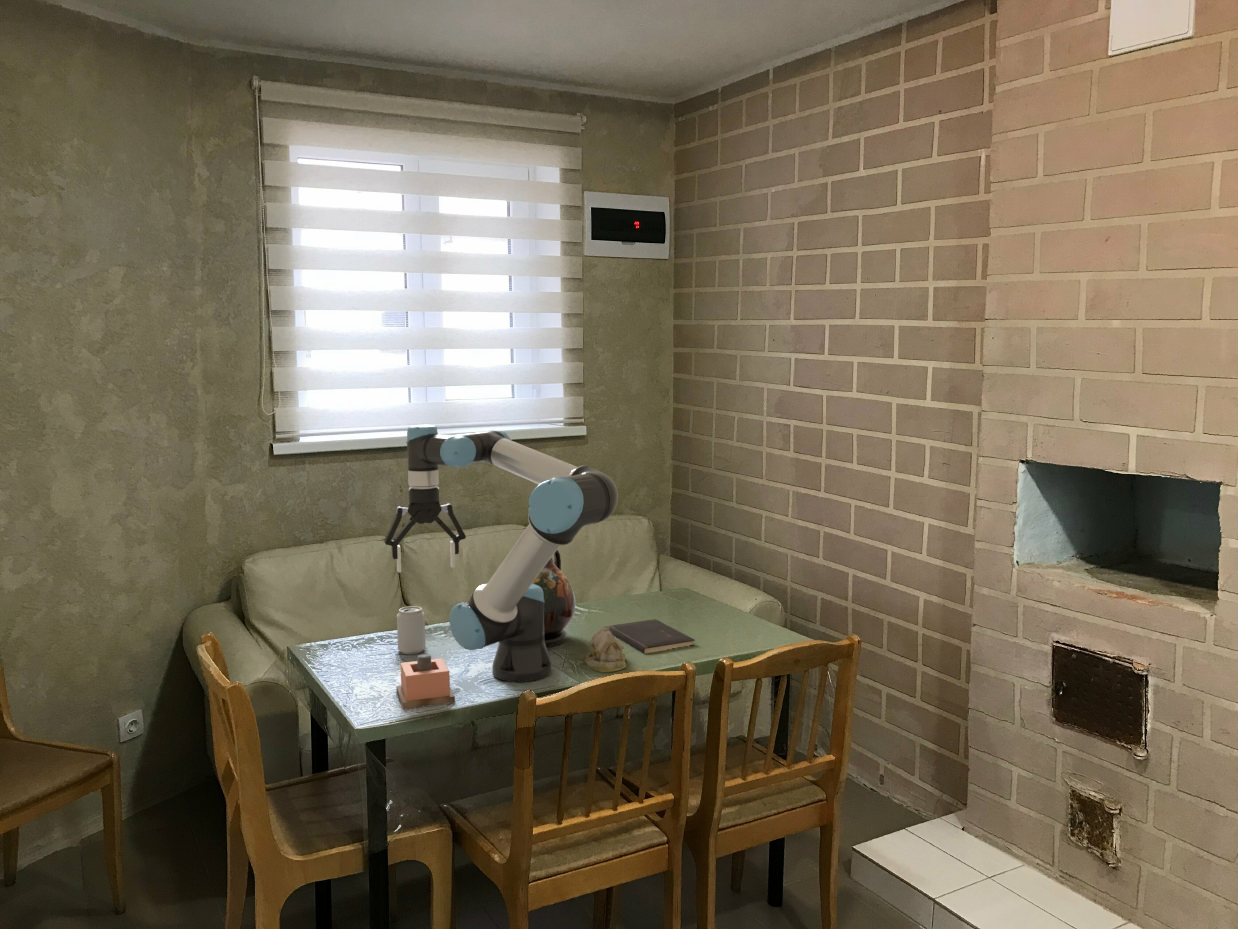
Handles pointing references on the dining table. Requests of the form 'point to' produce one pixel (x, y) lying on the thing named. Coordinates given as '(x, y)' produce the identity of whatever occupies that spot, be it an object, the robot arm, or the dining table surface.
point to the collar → (425, 680)
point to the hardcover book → (650, 636)
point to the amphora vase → (556, 601)
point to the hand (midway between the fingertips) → (426, 569)
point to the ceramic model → (605, 652)
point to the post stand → (425, 665)
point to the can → (411, 630)
